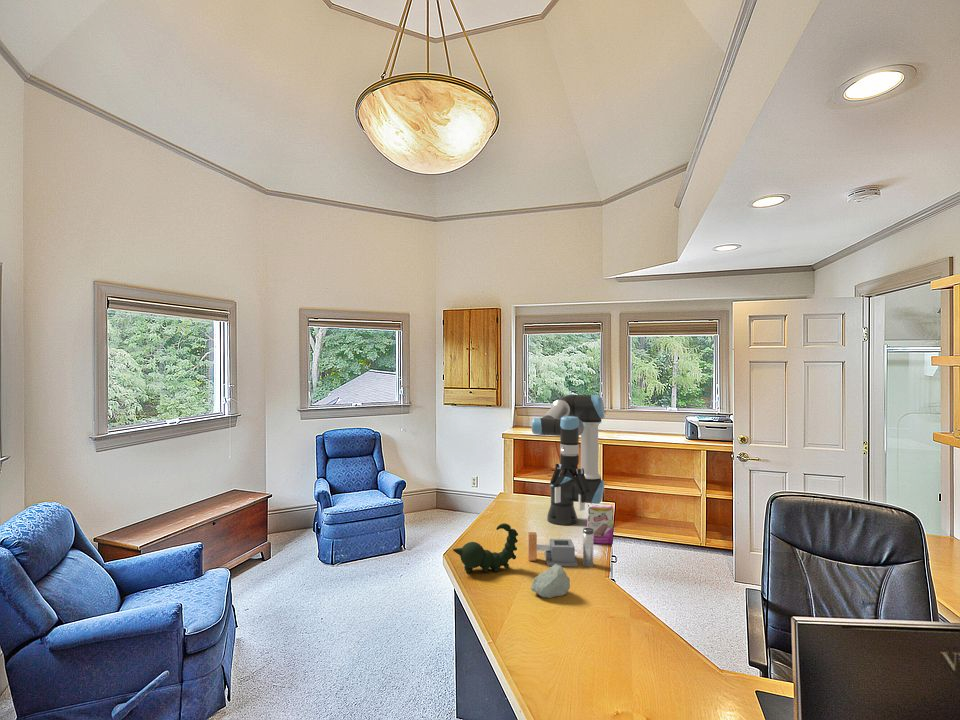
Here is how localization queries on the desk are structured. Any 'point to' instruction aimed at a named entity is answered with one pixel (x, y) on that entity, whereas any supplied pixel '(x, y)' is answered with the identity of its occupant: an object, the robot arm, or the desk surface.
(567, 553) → the dock
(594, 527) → the candy bar box
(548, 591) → the decorative stone
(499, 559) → the toy figurine
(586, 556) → the peg
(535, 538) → the pin
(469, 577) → the desk surface
